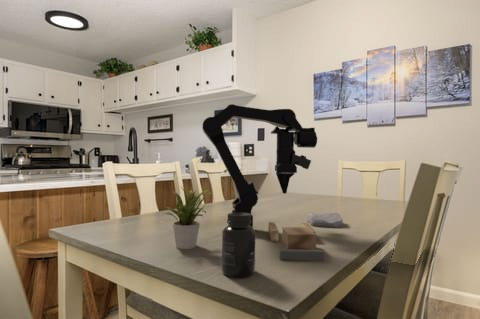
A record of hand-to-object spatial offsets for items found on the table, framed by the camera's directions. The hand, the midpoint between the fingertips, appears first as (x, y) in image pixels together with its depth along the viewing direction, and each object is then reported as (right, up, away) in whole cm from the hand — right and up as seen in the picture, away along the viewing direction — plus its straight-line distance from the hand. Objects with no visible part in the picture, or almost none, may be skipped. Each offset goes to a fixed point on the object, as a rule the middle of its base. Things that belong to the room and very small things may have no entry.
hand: (284, 193), depth 102 cm
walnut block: (0, -12, -23) cm, 26 cm away
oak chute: (0, -12, -10) cm, 16 cm away
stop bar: (-1, -12, -31) cm, 33 cm away
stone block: (+16, -13, +8) cm, 22 cm away
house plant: (-28, -12, -22) cm, 37 cm away
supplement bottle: (-15, -12, -40) cm, 44 cm away
